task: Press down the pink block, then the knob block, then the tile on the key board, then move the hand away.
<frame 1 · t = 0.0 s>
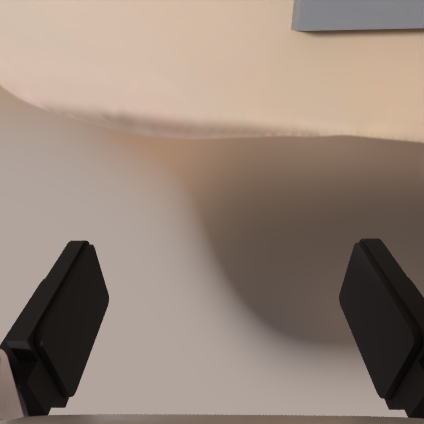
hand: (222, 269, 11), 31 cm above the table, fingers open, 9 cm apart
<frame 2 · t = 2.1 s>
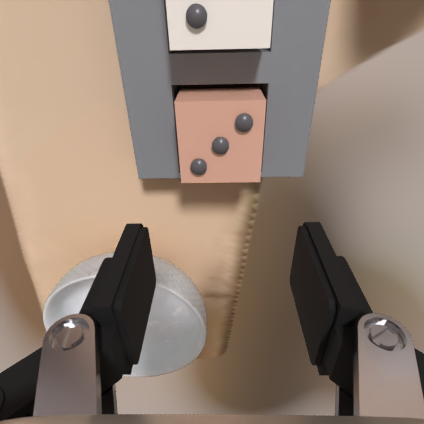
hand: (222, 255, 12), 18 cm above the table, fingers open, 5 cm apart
pink block 3: (220, 135, 23), point 4 cm above the table, slide at 0.0 cm
cereal bowl: (140, 282, 38), on the table
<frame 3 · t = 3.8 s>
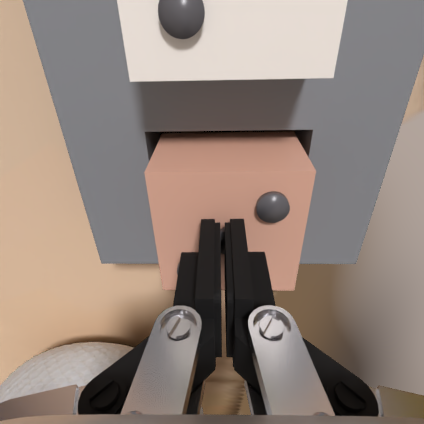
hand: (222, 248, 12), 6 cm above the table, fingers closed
pink block 3: (227, 213, 14), point 4 cm above the table, slide at 0.0 cm, touching gripper
cereal bowl: (118, 364, 29), on the table
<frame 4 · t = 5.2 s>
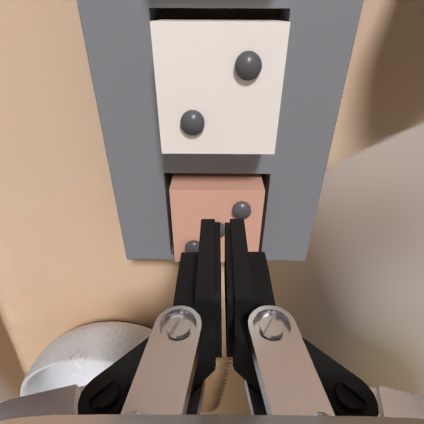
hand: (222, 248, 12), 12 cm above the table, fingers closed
key board: (218, 74, 20), on the table
pink block 3: (216, 213, 22), point 3 cm above the table, slide at 1.4 cm
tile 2: (218, 87, 16), point 4 cm above the table, slide at 0.0 cm
cereal bowl: (128, 344, 36), on the table
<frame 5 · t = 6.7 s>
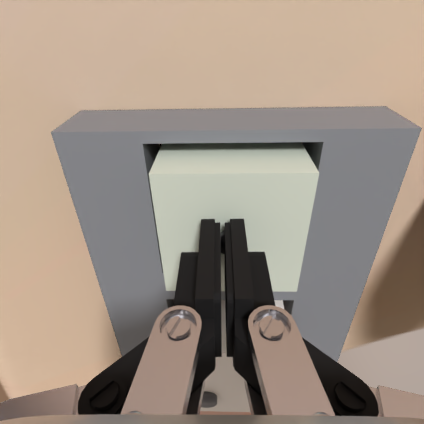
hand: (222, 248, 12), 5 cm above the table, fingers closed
key board: (228, 299, 21), on the table
pink block 3: (227, 402, 24), point 3 cm above the table, slide at 1.4 cm
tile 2: (229, 352, 18), point 4 cm above the table, slide at 0.0 cm
knob block 1: (230, 214, 14), point 3 cm above the table, slide at 1.2 cm
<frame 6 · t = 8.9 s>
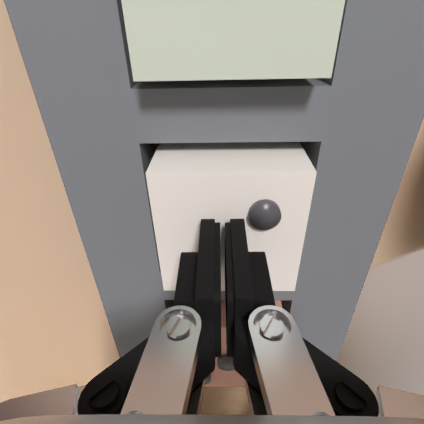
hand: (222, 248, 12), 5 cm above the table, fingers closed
key board: (227, 185, 16), on the table
pink block 3: (227, 331, 19), point 3 cm above the table, slide at 1.4 cm
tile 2: (228, 214, 14), point 3 cm above the table, slide at 1.2 cm
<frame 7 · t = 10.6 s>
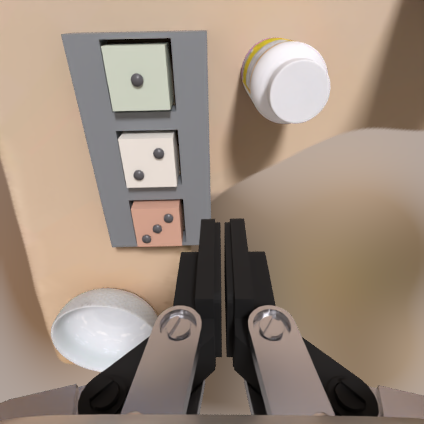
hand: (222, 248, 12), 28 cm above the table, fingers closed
key board: (154, 150, 39), on the table
pink block 3: (159, 220, 42), point 3 cm above the table, slide at 1.4 cm
supplement bottle: (269, 70, 35), on the table
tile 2: (151, 157, 37), point 3 cm above the table, slide at 1.4 cm
knob block 1: (140, 76, 32), point 2 cm above the table, slide at 1.5 cm
cereal bowl: (116, 306, 55), on the table
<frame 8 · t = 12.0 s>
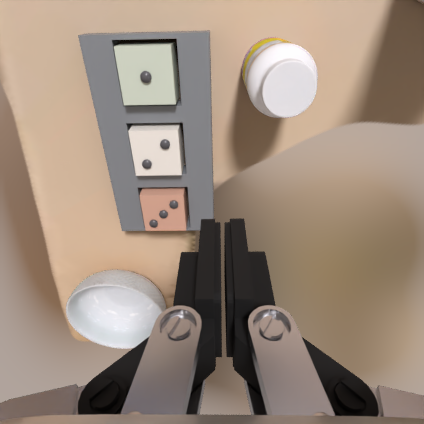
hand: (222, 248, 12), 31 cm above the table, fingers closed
key board: (161, 141, 42), on the table
pink block 3: (165, 206, 45), point 3 cm above the table, slide at 1.4 cm
supplement bottle: (268, 67, 37), on the table
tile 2: (158, 148, 40), point 3 cm above the table, slide at 1.4 cm
knob block 1: (149, 73, 35), point 2 cm above the table, slide at 1.5 cm
cereal bowl: (126, 288, 59), on the table
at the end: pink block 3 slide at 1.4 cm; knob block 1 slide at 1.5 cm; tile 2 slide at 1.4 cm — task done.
